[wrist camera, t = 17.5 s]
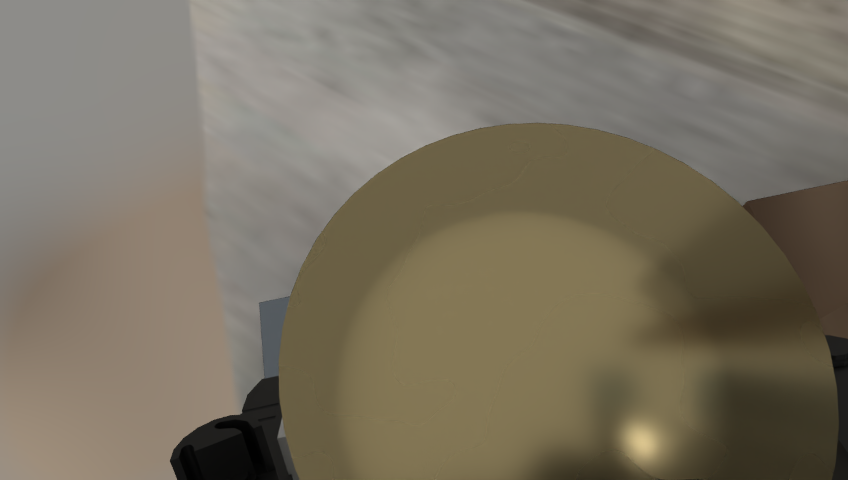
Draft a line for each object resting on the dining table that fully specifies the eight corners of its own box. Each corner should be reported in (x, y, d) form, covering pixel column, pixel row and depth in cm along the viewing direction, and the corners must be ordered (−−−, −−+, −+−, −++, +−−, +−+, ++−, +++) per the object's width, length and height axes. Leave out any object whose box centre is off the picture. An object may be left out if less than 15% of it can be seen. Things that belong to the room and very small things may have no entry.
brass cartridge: (560, 338, 18) (695, 82, 8) (628, 547, 16) (979, 591, 5) (377, 378, 18) (257, 170, 8) (413, 596, 16) (304, 753, 5)
